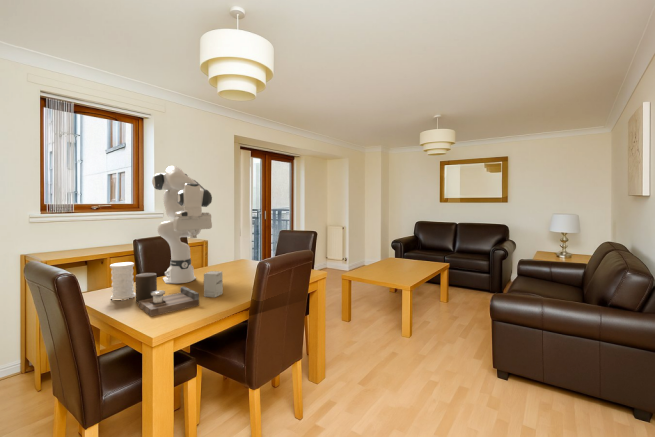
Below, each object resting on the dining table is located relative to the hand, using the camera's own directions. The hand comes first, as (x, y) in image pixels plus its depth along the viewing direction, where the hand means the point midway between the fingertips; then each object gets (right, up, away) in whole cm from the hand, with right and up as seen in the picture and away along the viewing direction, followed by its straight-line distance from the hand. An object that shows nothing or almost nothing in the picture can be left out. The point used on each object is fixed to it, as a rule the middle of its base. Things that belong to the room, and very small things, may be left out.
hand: (193, 238), depth 183 cm
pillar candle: (-20, -32, -11) cm, 39 cm away
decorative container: (-35, -32, -5) cm, 48 cm away
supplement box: (+11, -31, -1) cm, 33 cm away
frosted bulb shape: (-8, -33, -23) cm, 40 cm away
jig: (-4, -32, -19) cm, 38 cm away
